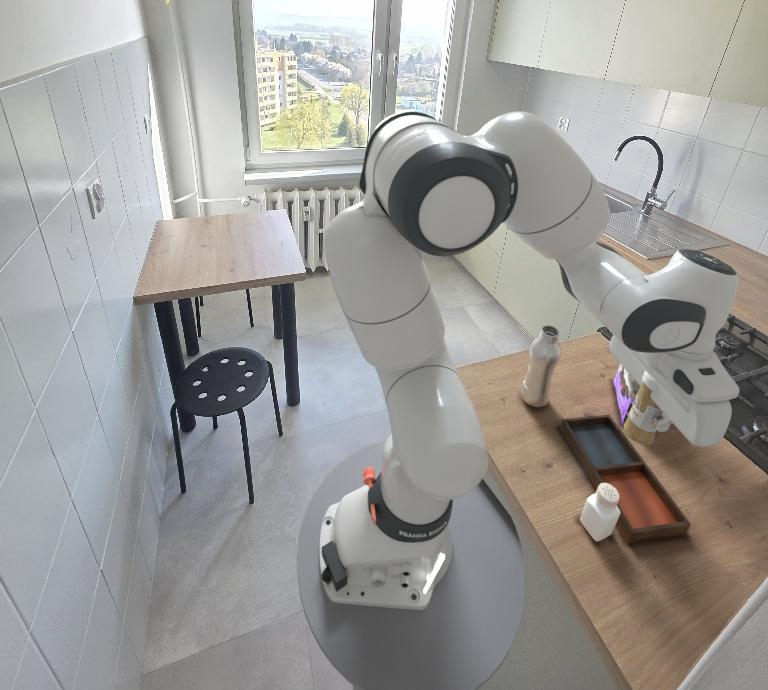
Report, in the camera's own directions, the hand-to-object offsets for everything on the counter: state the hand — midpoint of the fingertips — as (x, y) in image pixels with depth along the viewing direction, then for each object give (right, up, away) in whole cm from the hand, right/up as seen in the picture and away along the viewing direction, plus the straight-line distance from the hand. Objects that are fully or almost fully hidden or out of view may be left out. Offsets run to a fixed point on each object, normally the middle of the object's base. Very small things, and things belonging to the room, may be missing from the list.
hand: (646, 413), depth 69 cm
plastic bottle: (-9, -11, +28) cm, 31 cm away
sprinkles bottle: (0, -5, +2) cm, 5 cm away
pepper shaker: (-7, -21, +3) cm, 23 cm away
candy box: (+13, -12, +27) cm, 32 cm away
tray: (+1, -18, +11) cm, 21 cm away
